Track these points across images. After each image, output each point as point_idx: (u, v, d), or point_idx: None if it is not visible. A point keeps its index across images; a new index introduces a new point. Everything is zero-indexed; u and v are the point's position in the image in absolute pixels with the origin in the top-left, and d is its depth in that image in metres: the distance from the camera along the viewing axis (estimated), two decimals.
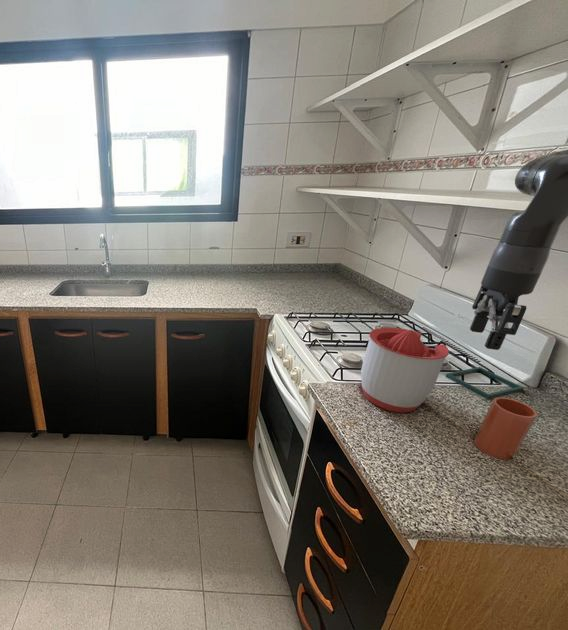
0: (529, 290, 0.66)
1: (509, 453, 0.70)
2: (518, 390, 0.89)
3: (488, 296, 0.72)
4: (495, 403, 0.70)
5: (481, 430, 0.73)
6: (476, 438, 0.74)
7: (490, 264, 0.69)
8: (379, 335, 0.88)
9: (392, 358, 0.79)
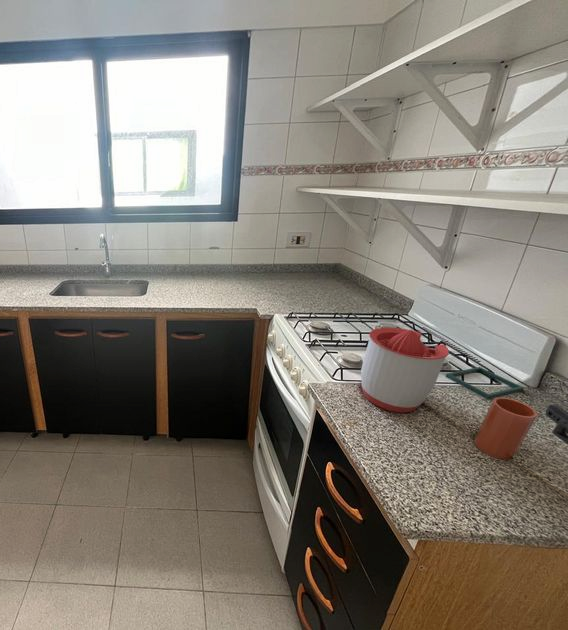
0: None
1: (509, 453, 0.70)
2: (518, 390, 0.89)
3: None
4: (495, 403, 0.70)
5: (481, 430, 0.73)
6: (476, 438, 0.74)
7: None
8: (379, 335, 0.88)
9: (392, 358, 0.79)
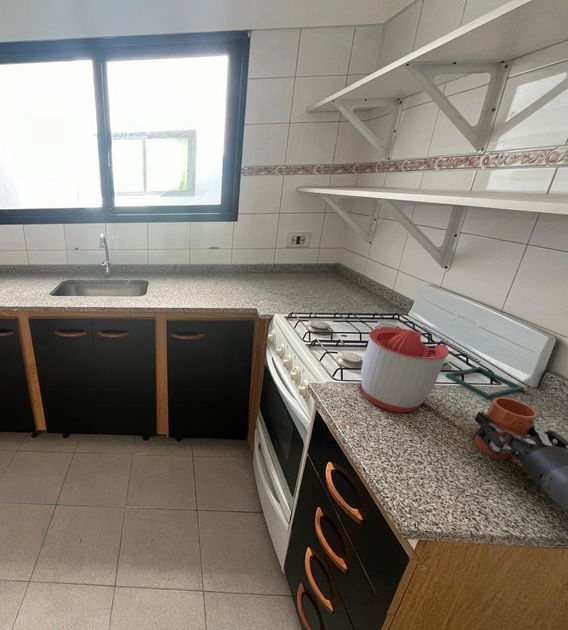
0: None
1: (509, 453, 0.70)
2: (518, 390, 0.89)
3: None
4: (495, 403, 0.70)
5: None
6: (476, 438, 0.74)
7: None
8: (379, 335, 0.88)
9: (392, 358, 0.79)
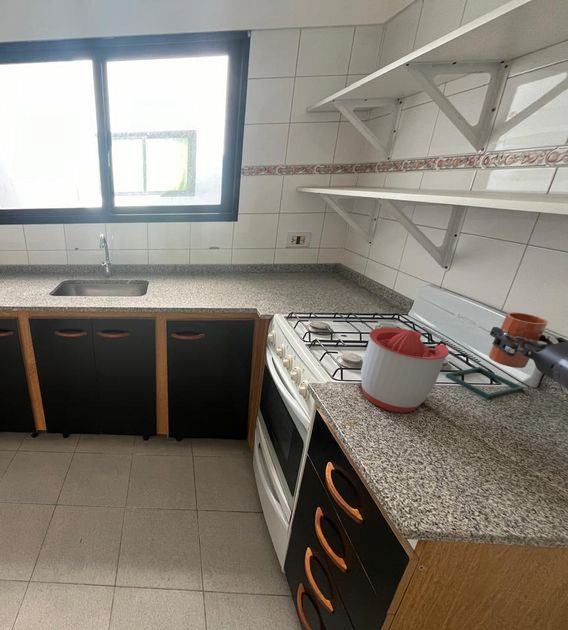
0: None
1: (522, 360, 0.77)
2: (518, 390, 0.89)
3: None
4: (509, 316, 0.77)
5: None
6: (491, 352, 0.81)
7: None
8: (379, 335, 0.88)
9: (392, 358, 0.79)
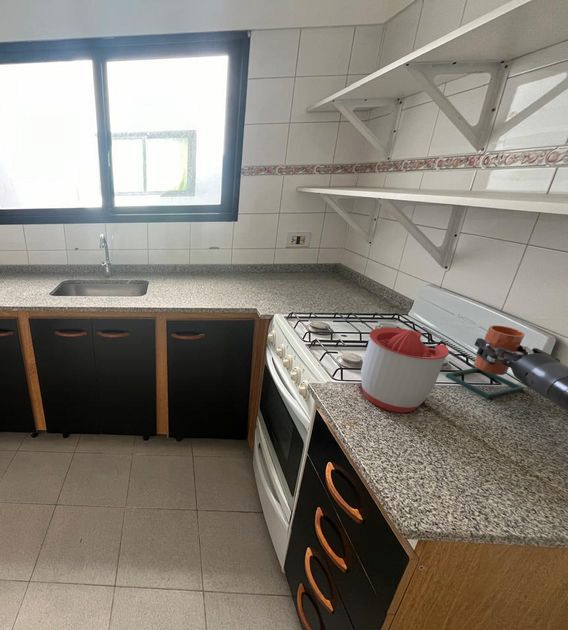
0: None
1: (503, 368, 0.87)
2: (518, 390, 0.89)
3: None
4: (491, 328, 0.87)
5: None
6: (476, 360, 0.91)
7: None
8: (379, 335, 0.88)
9: (392, 358, 0.79)
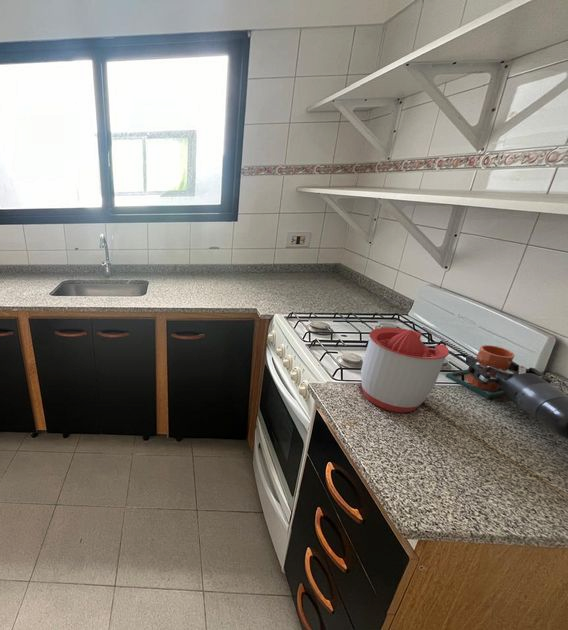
0: None
1: (493, 387, 0.89)
2: None
3: None
4: (482, 348, 0.89)
5: None
6: (467, 379, 0.94)
7: None
8: (379, 335, 0.88)
9: (392, 358, 0.79)
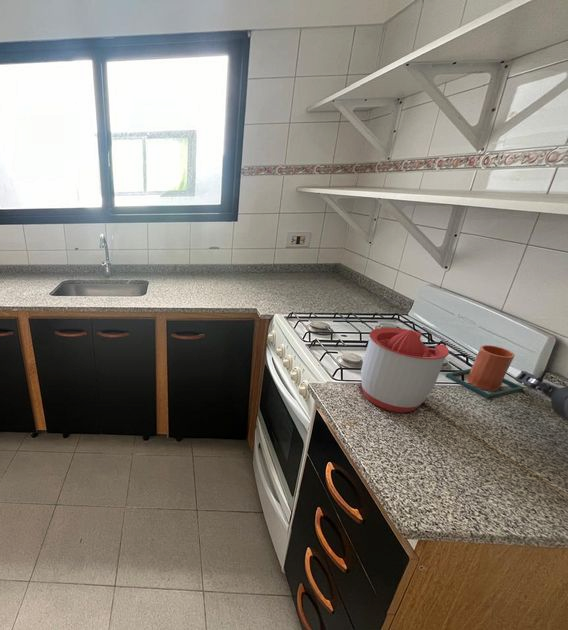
0: None
1: (493, 387, 0.89)
2: (518, 390, 0.89)
3: None
4: (482, 348, 0.89)
5: (471, 372, 0.92)
6: (467, 379, 0.94)
7: None
8: (379, 335, 0.88)
9: (392, 358, 0.79)
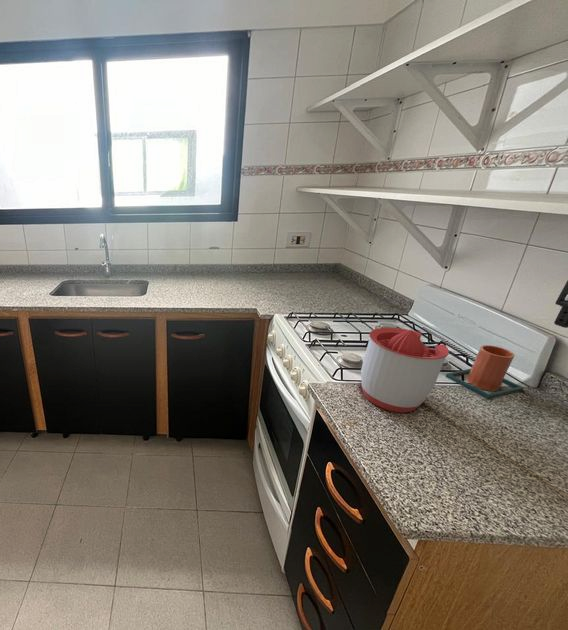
0: None
1: (493, 387, 0.89)
2: (518, 390, 0.89)
3: None
4: (482, 348, 0.89)
5: (471, 372, 0.92)
6: (467, 379, 0.94)
7: None
8: (379, 335, 0.88)
9: (392, 358, 0.79)
